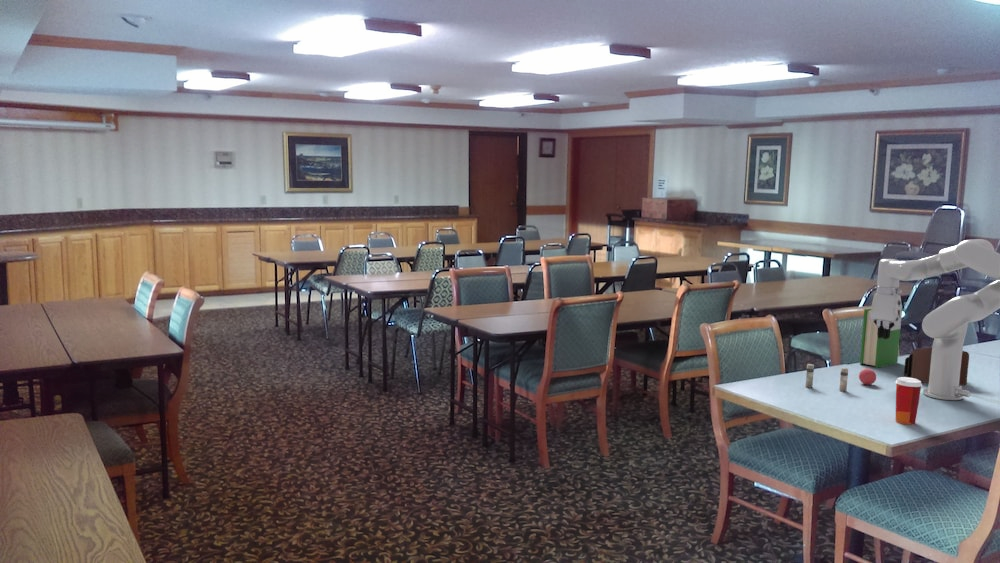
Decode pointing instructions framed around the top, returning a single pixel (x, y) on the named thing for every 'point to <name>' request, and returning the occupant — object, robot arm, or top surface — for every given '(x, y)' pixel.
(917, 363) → the letter holder
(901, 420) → the paper cup
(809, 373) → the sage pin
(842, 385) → the ivory pin
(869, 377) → the ball
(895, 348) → the hardback book
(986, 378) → the top surface
